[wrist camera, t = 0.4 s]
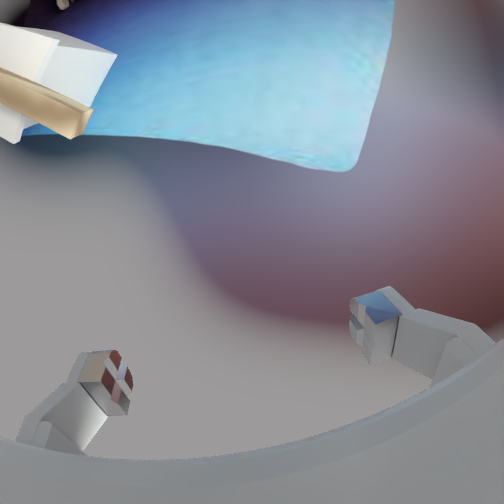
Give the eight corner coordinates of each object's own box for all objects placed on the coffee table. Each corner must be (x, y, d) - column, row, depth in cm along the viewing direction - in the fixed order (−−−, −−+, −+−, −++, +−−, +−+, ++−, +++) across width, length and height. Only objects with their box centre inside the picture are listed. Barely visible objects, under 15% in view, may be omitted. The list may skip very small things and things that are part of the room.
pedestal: (56, 26, 30) (-25, 18, 9) (124, 52, 38) (53, 39, 17) (29, 83, 36) (-54, 104, 15) (91, 112, 44) (13, 144, 23)
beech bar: (-28, 56, 13) (-42, 59, 10) (93, 109, 23) (80, 113, 21) (-35, 76, 14) (-48, 79, 12) (82, 133, 24) (70, 139, 22)
